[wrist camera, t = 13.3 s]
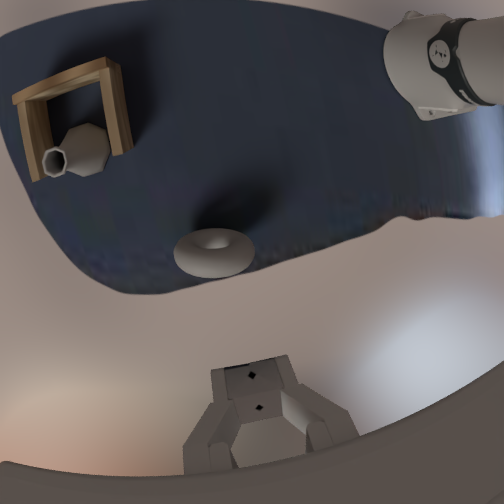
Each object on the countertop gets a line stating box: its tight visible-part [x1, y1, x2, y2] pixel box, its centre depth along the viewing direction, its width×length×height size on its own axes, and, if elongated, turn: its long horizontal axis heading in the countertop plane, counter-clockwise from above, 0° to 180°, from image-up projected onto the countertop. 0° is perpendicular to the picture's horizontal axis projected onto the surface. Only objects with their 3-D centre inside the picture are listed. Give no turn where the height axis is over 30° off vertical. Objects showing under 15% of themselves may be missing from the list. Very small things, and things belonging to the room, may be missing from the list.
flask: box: [42, 123, 111, 177], centre depth 29 cm, size 7×7×10 cm
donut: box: [174, 228, 255, 278], centre depth 38 cm, size 10×4×10 cm, turn 89°
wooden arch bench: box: [12, 57, 134, 182], centre depth 29 cm, size 12×11×7 cm
